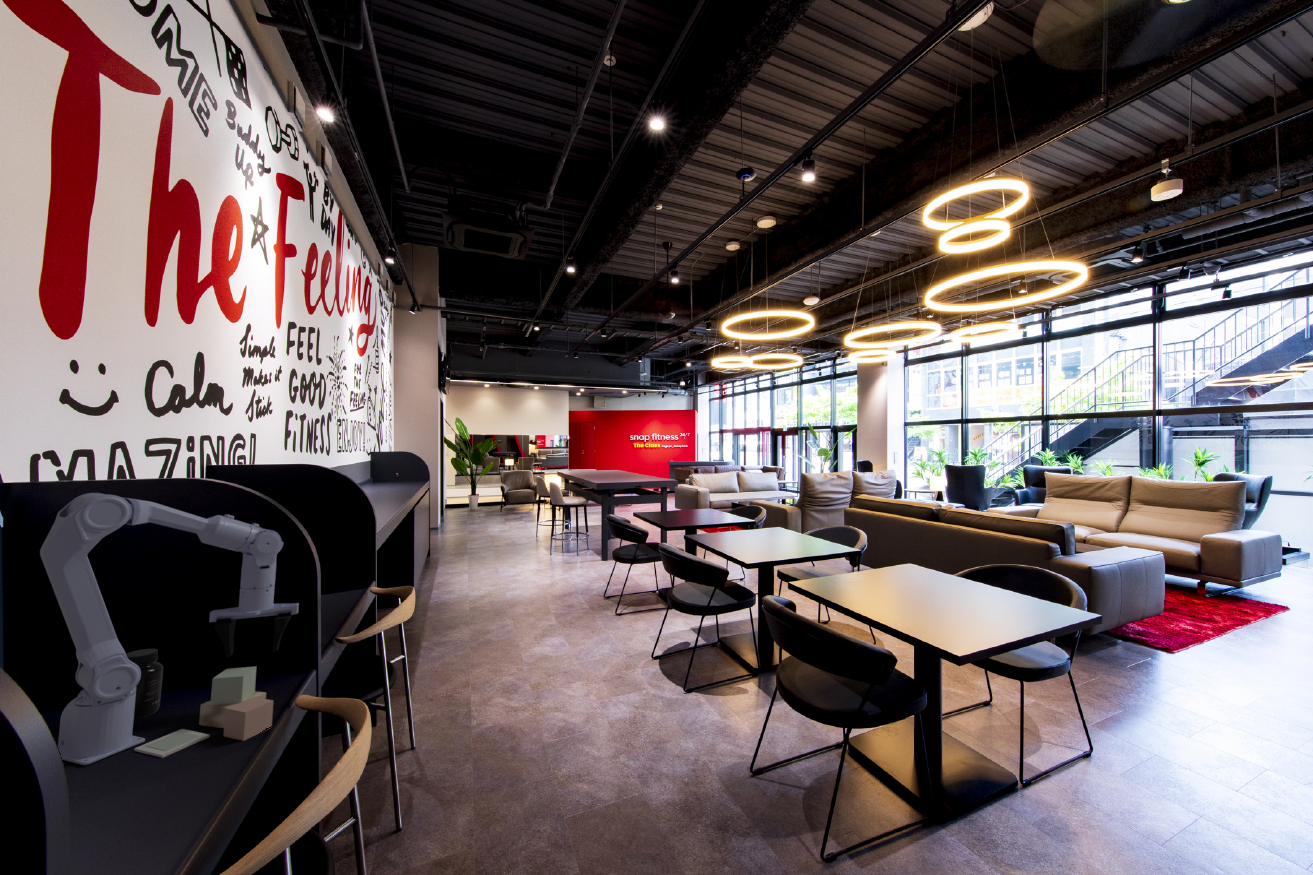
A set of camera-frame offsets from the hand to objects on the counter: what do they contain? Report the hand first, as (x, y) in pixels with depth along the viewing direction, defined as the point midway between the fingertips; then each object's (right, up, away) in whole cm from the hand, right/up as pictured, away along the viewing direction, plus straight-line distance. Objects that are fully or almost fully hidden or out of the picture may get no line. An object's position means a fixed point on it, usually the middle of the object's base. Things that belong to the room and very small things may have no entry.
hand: (252, 652), depth 105 cm
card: (-1, -9, -16) cm, 19 cm away
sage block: (+1, -6, -6) cm, 9 cm away
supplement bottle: (-18, -10, -6) cm, 22 cm away
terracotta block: (+8, -10, -11) cm, 17 cm away
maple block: (+1, -10, -6) cm, 12 cm away
